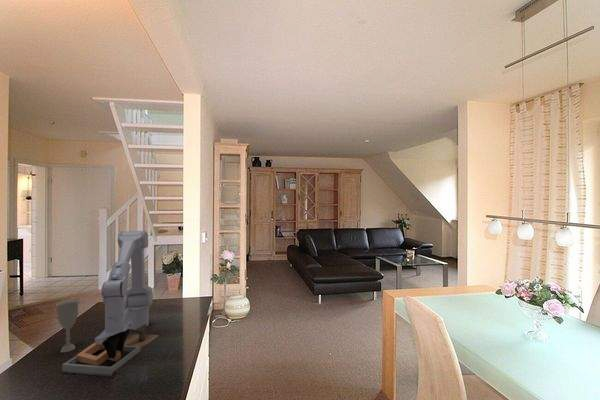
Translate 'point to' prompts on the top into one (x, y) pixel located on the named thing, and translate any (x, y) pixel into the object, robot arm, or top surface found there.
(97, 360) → the tan flat frame
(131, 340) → the tan wooden piece
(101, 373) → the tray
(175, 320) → the top surface
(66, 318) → the chalice
